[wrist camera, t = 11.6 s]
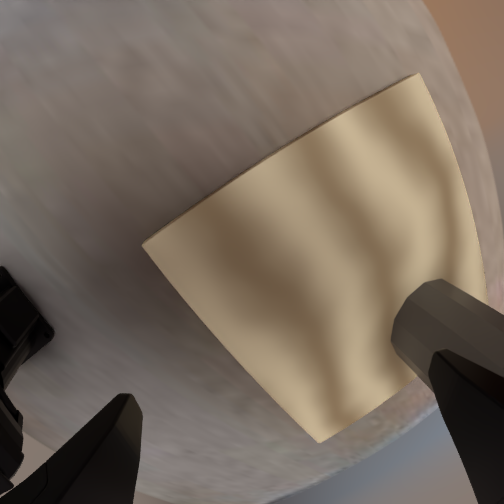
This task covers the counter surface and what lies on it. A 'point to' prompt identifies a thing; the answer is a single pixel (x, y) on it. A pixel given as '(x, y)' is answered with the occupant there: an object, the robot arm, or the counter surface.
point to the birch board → (329, 254)
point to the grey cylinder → (447, 328)
